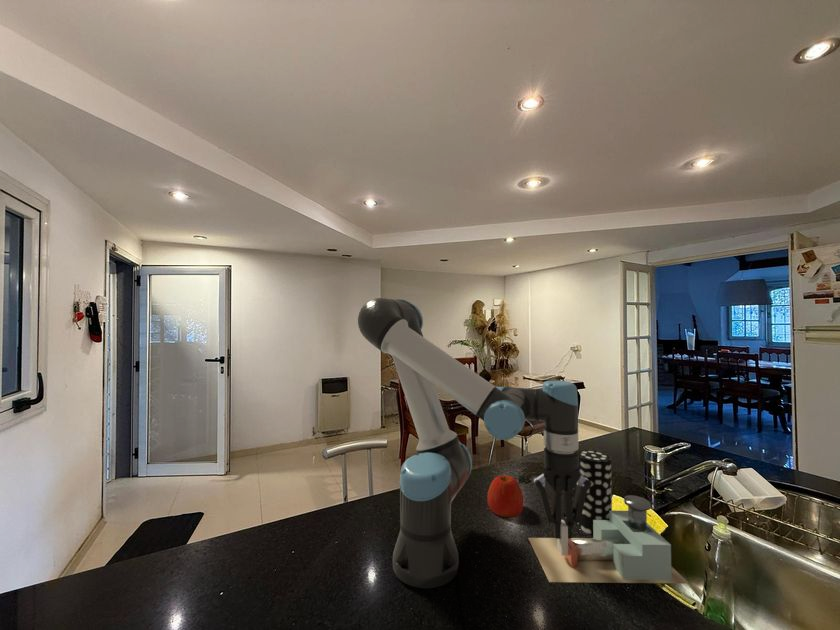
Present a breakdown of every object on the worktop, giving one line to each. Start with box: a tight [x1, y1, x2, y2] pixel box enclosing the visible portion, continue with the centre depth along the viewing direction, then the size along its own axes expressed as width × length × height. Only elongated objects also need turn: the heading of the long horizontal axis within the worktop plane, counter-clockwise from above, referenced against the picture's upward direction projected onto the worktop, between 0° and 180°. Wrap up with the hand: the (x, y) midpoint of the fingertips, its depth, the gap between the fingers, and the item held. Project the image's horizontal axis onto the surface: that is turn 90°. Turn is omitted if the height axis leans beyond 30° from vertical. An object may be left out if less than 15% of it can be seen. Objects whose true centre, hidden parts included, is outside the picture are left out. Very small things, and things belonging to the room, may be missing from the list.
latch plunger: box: [623, 494, 652, 531], centre depth 81 cm, size 5×5×6 cm
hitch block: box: [592, 509, 672, 580], centre depth 81 cm, size 10×13×7 cm
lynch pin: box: [564, 539, 626, 568], centre depth 81 cm, size 13×6×4 cm, turn 89°
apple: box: [486, 474, 524, 518], centre depth 103 cm, size 10×10×10 cm
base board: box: [528, 537, 689, 584], centre depth 81 cm, size 29×15×1 cm, turn 89°
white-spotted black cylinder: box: [576, 449, 613, 536], centre depth 93 cm, size 8×8×20 cm
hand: (562, 551), depth 81 cm, fingers closed
